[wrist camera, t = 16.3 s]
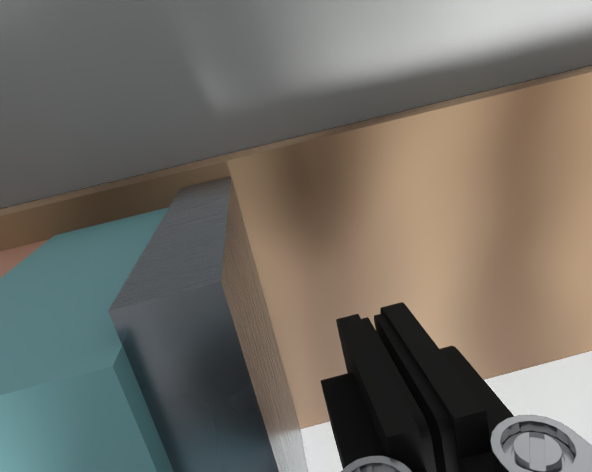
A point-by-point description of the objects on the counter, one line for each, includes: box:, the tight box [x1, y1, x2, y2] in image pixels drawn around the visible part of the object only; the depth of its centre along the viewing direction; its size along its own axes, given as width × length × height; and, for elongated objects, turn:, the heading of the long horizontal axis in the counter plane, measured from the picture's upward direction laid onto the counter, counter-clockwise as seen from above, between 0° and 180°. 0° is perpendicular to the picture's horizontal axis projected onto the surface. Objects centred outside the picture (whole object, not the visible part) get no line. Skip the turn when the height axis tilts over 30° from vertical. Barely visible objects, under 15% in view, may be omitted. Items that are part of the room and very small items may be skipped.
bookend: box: [108, 176, 308, 472], centre depth 11 cm, size 2×9×8 cm, turn 13°
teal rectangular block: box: [0, 207, 174, 472], centre depth 11 cm, size 4×8×8 cm, turn 13°
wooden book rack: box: [0, 65, 592, 429], centre depth 12 cm, size 28×10×10 cm, turn 103°
